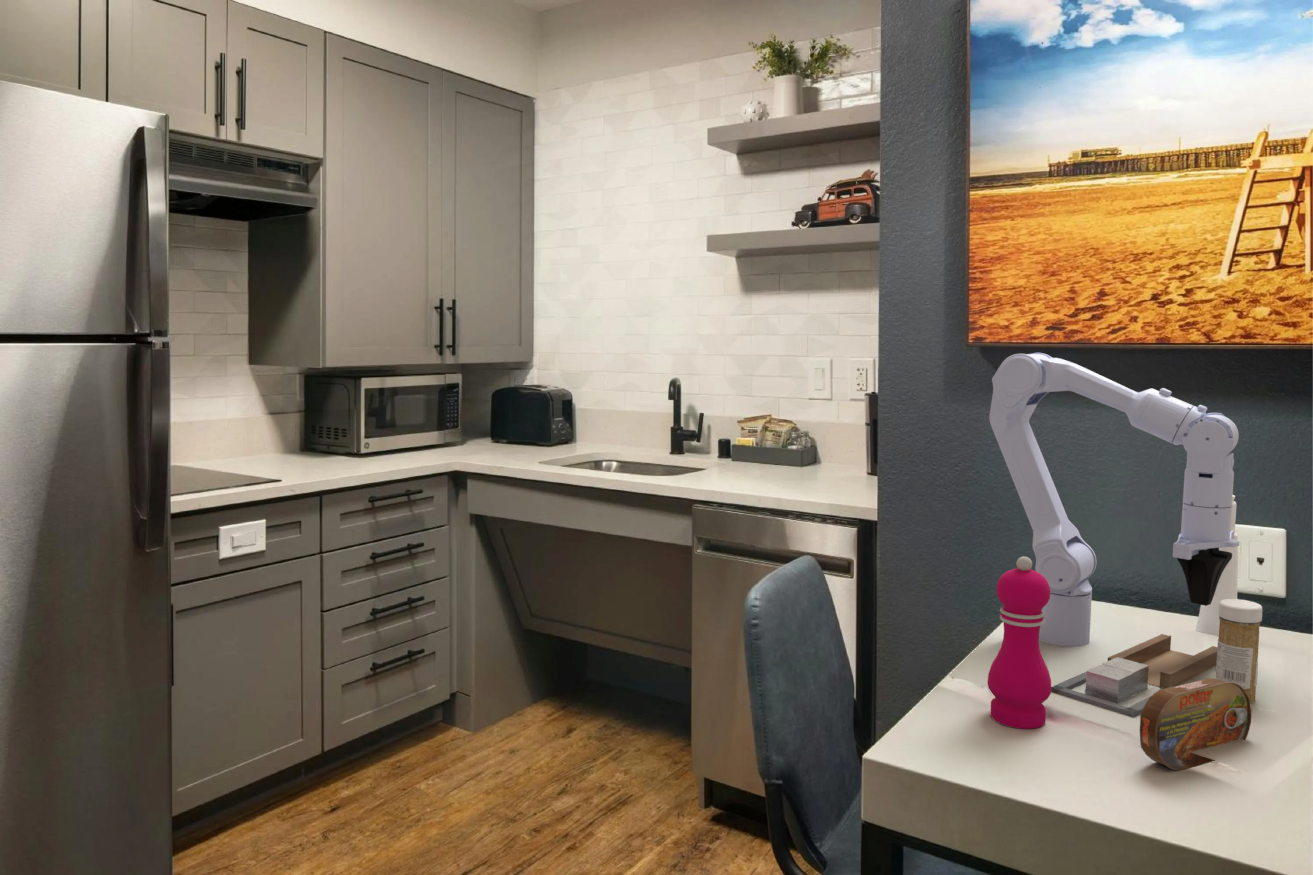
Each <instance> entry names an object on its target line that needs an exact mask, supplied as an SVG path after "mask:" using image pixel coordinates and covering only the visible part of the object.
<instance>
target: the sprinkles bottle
mask: <svg viewBox="0 0 1313 875" xmlns="http://www.w3.org/2000/svg"><path fill="white" fill-rule="evenodd" d="M1218 614H1219V619H1220V625H1219V637H1218V639H1217V647H1218V648H1217V664H1216V666H1215V679H1218V680H1222V681H1225V682H1232V683H1236V684H1238V685H1239V686H1241V687H1242V688H1243V689H1244V690H1245V692H1246V693H1247V695H1248V697H1249V700H1250V704H1253V703H1254V702H1255V701H1256V695H1257V692H1256V690H1257V686H1258V673H1259V672H1258V671H1259V670H1258V669H1259V661H1258V659H1259V658H1258V657H1259V642H1260V625H1261V622H1262V621H1263V606H1262V605H1261V604H1260V603H1257V602H1255V601H1251V600H1246V599H1239V598H1237V599H1224V600H1221V601H1220V603H1219V613H1218Z"/></svg>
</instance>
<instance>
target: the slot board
mask: <svg viewBox="0 0 1313 875" xmlns="http://www.w3.org/2000/svg"><path fill="white" fill-rule="evenodd" d="M1171 642H1172V636H1171V635H1167V634H1163V633H1161V634H1159V635H1156V636H1155V637H1151V638H1149V639H1147V640H1145V641H1143V642H1140V643H1139V644H1136V645H1134V646H1131V647H1129V648H1126V649H1125V650H1122V651H1120V652H1118V653H1115V654H1113V655H1112V656H1108V657H1107V661H1109V660H1112V659H1114V658H1116V657H1119V658H1123V659H1126V660H1130V661H1134V662H1137V663H1141V664H1145V665H1149V671H1148V685H1150V686H1154V687H1157V688H1161V689H1165V688H1167V687H1169V686H1172V687H1174V686H1179V685H1183V684H1185V683H1186V682H1189V681H1190V680H1192V679H1194V678H1195V677H1198V676H1200V675H1201V674H1204V673H1205V672H1208V671H1209V670H1212V669H1213V668H1216V664H1217V648H1218V646H1215V645H1212V646H1210V647H1209V648H1206V649H1204V650H1202V651H1200V652H1198V653H1196V654H1194V655H1192V654H1189V653H1184V652H1180V651H1177V650H1173V649H1171Z"/></svg>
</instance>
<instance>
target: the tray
mask: <svg viewBox="0 0 1313 875" xmlns="http://www.w3.org/2000/svg"><path fill="white" fill-rule="evenodd" d="M1087 671H1088V670H1086V671H1084V672H1082V673H1080V674H1077V675H1076V676H1073V677H1071V678H1068V679H1067V680H1064V681H1061V682H1059V683H1058V684H1055V685H1053V686H1052V685H1051V690H1052V691H1051V693H1054V694H1057V695H1061V696H1063V697H1067V698H1070V699H1074V700H1076V701H1080V702H1083V703H1086V704H1090V705H1093V706H1097V707H1099V708H1103V709H1106V710H1109V711H1112V712H1114V713H1115V712H1116V713H1118V714H1122V715H1125V716H1128V717H1132V718H1136V717H1138V716H1139V715H1140V716H1141V712H1142V710H1143V707H1144V706H1145V704H1146V702H1147V701H1148V699H1149V698H1150V697H1151V696H1152V695H1150V696H1148V697H1146V698H1144V699H1142V700H1140V701H1138V702H1136V703H1135V704H1133V705H1130V706H1126V705H1123V704H1121V703H1119V704H1116V703H1113V702H1110V701H1107V700H1103V699H1100V698H1097V697H1093V696H1090V695H1087V694H1085V693H1082V692H1079V691H1077V690H1073V689H1074V688H1076V687H1078V686H1081V685H1083V684H1086V672H1087ZM1170 687H1172V686H1169V687H1167V688H1170Z"/></svg>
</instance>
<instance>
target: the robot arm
mask: <svg viewBox="0 0 1313 875" xmlns="http://www.w3.org/2000/svg"><path fill="white" fill-rule="evenodd" d="M991 382H992V387H993V388H992V389H993V390H992V398H991V404H990V408H989V409H990V410H989V415H988V416H989V418H988V419H989V423H990V426H991V429H992V431H993V434H994V436H995V439H996V441H997V444H998V446H999V449H1000V451H1001V454H1002V456H1003V459H1004V461H1005V464H1006V467H1007V469H1008V471H1009V474H1010V476H1011V479H1012V481H1013V483H1014V487H1015V488H1016V492H1017V494H1018V497H1019V499H1020V502H1021V504H1022V506H1023V509H1024V511H1025V514H1026V516H1027V519H1028V521H1029V524H1030V526H1031V530H1032V533H1033V535H1032V550H1033V553H1034V556H1035V566H1034V567H1035V568H1034V569H1035V570H1034V571H1036V572H1038V573H1040V574H1041V575H1043V576H1044V577H1045V578H1046V580H1047V582H1048V584H1049V587H1050V599H1049V601H1048V603H1047V604H1046V605H1045V606H1044V607H1043V608H1042V610H1043V611H1044V612H1045V616H1044V621H1045V622H1044V624H1043V625H1041V626H1040V631H1039V641H1042V642H1044V643H1047V644H1050V645H1055V646H1061V647H1082V646H1083V647H1085V646H1087V645H1088V644H1090V636H1091V616H1092V598H1093V596H1092V595H1093V593H1092V592H1093V587H1092V585H1091V584H1090V582H1089V581H1090V580H1089V577H1091V576H1092V575H1093V574H1094V573H1095V570H1096V568H1097V564H1098V563H1097V555H1096V553H1095V551H1094V549H1092V547H1091V546H1090V545H1089V544H1088V543H1087V542H1086V541H1085V540H1084V539H1083V538H1082V536H1081V534H1080V530H1079V529H1078V528H1077V527H1076V526H1075V525H1074V524H1073V523H1072V522H1071V520H1069V518H1068V514H1067V513H1066V510H1065V508H1064V505H1063V503H1062V501H1061V498H1060V495H1059V492H1058V490H1057V488H1056V486H1055V483H1054V480H1053V478H1052V476H1051V473H1050V471H1049V468H1048V466H1047V464H1046V460H1045V459H1044V456H1043V453H1042V452H1041V451H1042V450H1041V449H1040V446H1039V444H1038V441H1037V438H1036V436H1035V433H1034V432H1033V428H1032V426H1031V425H1030V419H1031V418H1032V415H1033V413H1034V411H1035V410H1036V407H1037V406H1038V404H1039V402H1040V401H1041V400H1042V399H1044V398H1045V397H1046V396H1047V394H1049V393H1050V392H1051V393H1052V392H1053V393H1054V392H1073V393H1076V394H1078V395H1080V396H1083V397H1085V398H1088V399H1090V400H1093V401H1095V402H1098V403H1100V404H1103V405H1105V406H1108V407H1110V408H1114V409H1116V410H1118V411H1121V412H1122V413H1125V414H1126V416H1127V418H1128V421H1129V423H1130V426H1132V427H1134V428H1135V429H1138V430H1141V431H1143V432H1145V433H1148V434H1149V435H1152V436H1154V437H1156V438H1159V439H1161V440H1164V441H1166V442H1167V443H1169V444H1172V445H1174V446H1178V445H1182V446H1183V448H1184V451H1186V453H1187V454H1186V468H1185V470H1184V477H1183V495H1182V510H1181V524H1180V525H1181V527H1180V533H1179V534H1178V536H1177V537H1178V538H1177V541H1175V542H1173V545H1172V546H1173V548H1172V558H1176V559H1177V561H1178V563H1179V565H1180V568H1182V571H1183V575H1184V577H1185V581H1186V586H1187V592H1188V596H1189V601H1190V603H1191V604H1197V605H1200V606H1201V605H1205V606H1207V605H1210V604H1211V602H1212V599H1213V597H1214V594H1215V591H1216V587H1217V584H1218V582H1219V579H1220V577H1221V574H1222V572H1223V570H1224V569H1225V567H1226V565H1227V564H1228V563H1229V561H1230V560H1231V558H1232V553H1230V552H1226V551H1220V550H1219V548H1220V547H1237V546H1238V547H1239V546H1240V540H1239V539H1238V540H1234V531H1231V530H1230V525H1231V511H1232V497H1233V495H1234V483H1235V482H1234V479H1235V478H1234V477H1235V472H1234V465H1235V459H1234V453H1233V452H1232V451H1233V450H1234V449H1235V448H1236V446H1237V444H1238V442H1239V437H1240V436H1239V429H1238V426H1237V425H1236V424H1235V422H1234V421H1233V420H1231V419H1230V418H1228V417H1227V416H1225V415H1224V414H1223V413H1222V412H1208V413H1207V411H1208V407H1207V406H1205V405H1203V404H1199V405H1198V406H1195V405H1193V404H1190V403H1188V402H1185V401H1183V400H1181V399H1179V398H1176V397H1174V396H1171V395H1172V393H1173V392H1172V391H1171V390H1169V389H1167V388H1165V387H1162V388H1160V389H1159V390H1157V389H1154V388H1148V389H1145V390H1142V391H1135V390H1133V389H1131V388H1128V387H1126V386H1125V385H1122V384H1120V383H1118V382H1116V381H1114V380H1111V379H1109V378H1107V377H1106V376H1103V375H1100V374H1099V373H1096V372H1095V371H1092V370H1090V369H1088V368H1087V367H1083V366H1081V365H1079V364H1077V363H1074V362H1072V361H1069V360H1065V359H1063V358H1059V357H1052V356H1050V355H1049V354H1046V353H1042V352H1033V353H1027V354H1026V353H1015V354H1012V355H1009V356H1008V357H1006V358H1005V359H1004V360H1003V361H1002V362H1001V364H1000V366H998V368H997V370H996V372H995V374H994V375H993V376H992V378H991Z"/></svg>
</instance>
